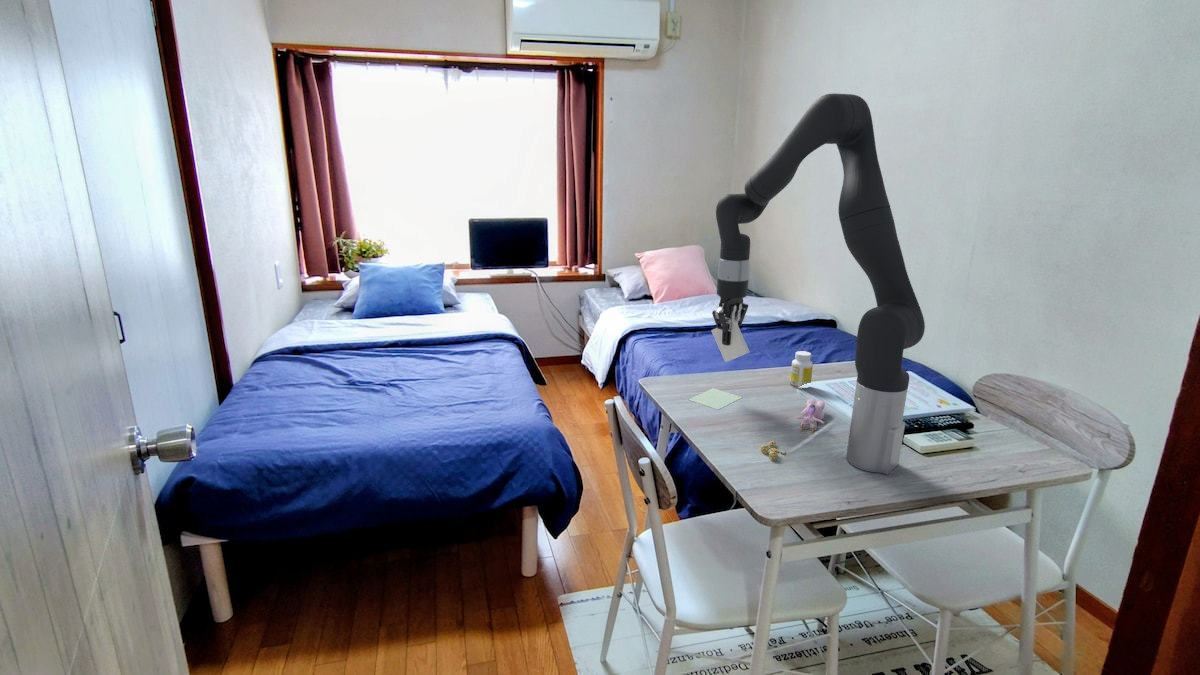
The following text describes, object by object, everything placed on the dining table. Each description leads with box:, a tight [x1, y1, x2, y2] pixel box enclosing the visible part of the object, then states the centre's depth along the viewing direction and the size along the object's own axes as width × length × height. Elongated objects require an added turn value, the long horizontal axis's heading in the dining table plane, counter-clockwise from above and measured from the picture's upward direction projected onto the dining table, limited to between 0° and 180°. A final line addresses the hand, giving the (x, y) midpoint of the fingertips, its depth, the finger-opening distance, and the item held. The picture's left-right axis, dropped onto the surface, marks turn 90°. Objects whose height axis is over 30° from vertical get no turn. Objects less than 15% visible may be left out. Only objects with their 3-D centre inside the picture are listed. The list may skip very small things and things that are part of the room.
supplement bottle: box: [789, 350, 814, 390], centre depth 162 cm, size 5×5×10 cm
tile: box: [710, 320, 751, 363], centre depth 152 cm, size 7×2×9 cm, turn 45°
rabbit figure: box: [796, 398, 826, 436], centre depth 141 cm, size 6×6×15 cm
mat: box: [688, 387, 743, 411], centre depth 153 cm, size 18×16×1 cm
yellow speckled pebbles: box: [760, 440, 787, 462], centre depth 127 cm, size 5×5×2 cm
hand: (728, 343), depth 153 cm, fingers closed on tile, 1 cm apart
